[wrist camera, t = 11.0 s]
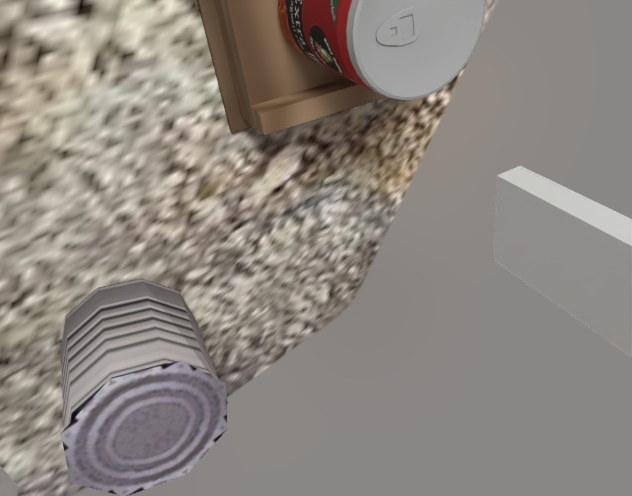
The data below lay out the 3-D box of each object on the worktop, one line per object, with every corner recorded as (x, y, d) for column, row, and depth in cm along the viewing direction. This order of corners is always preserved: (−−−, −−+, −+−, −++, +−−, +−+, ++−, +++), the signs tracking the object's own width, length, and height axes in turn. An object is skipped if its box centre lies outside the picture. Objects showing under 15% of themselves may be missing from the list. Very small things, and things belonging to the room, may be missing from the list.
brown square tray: (230, 130, 41) (254, 156, 36) (166, -119, 32) (188, -127, 27) (406, 76, 45) (449, 93, 40) (395, -157, 36) (448, -170, 31)
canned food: (252, -22, 32) (327, -4, 24) (356, -92, 33) (466, -99, 24) (306, 84, 37) (384, 130, 29) (396, 21, 38) (500, 49, 29)
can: (42, 295, 41) (43, 403, 32) (188, 265, 45) (227, 353, 36) (74, 399, 47) (82, 516, 37) (201, 364, 51) (237, 462, 42)
